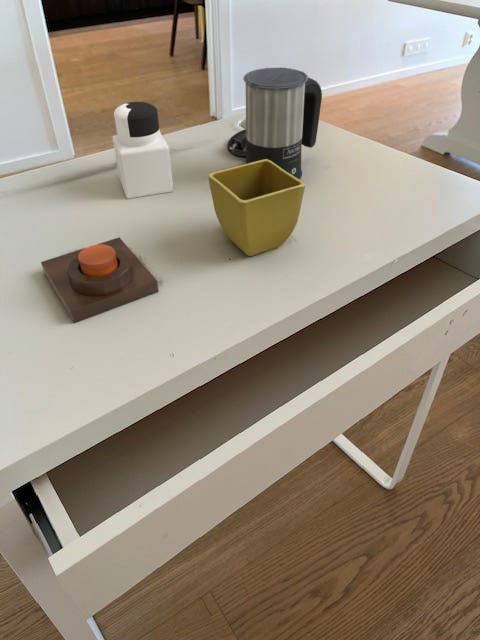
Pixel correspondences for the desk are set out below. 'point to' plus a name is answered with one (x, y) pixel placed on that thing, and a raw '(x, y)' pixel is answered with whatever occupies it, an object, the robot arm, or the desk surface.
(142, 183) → the medicine bottle
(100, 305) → the button base
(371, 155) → the desk surface
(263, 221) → the flower pot
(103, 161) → the desk surface
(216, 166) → the desk surface
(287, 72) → the milk frother
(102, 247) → the button
